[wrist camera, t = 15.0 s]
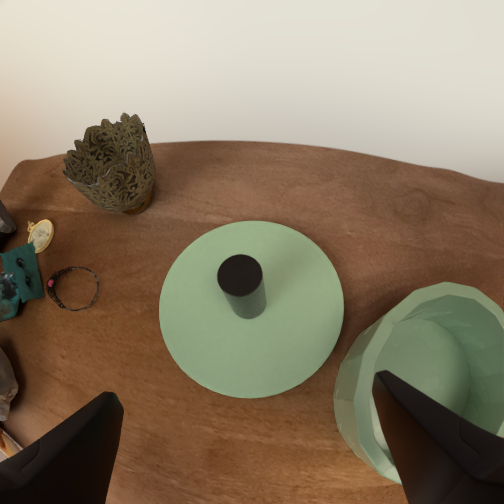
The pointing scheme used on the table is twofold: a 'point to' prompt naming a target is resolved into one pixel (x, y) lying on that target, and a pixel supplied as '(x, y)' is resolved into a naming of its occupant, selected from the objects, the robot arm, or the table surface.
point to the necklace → (52, 279)
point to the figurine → (18, 279)
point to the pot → (425, 365)
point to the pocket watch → (41, 234)
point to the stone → (6, 386)
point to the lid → (251, 309)
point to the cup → (113, 166)
